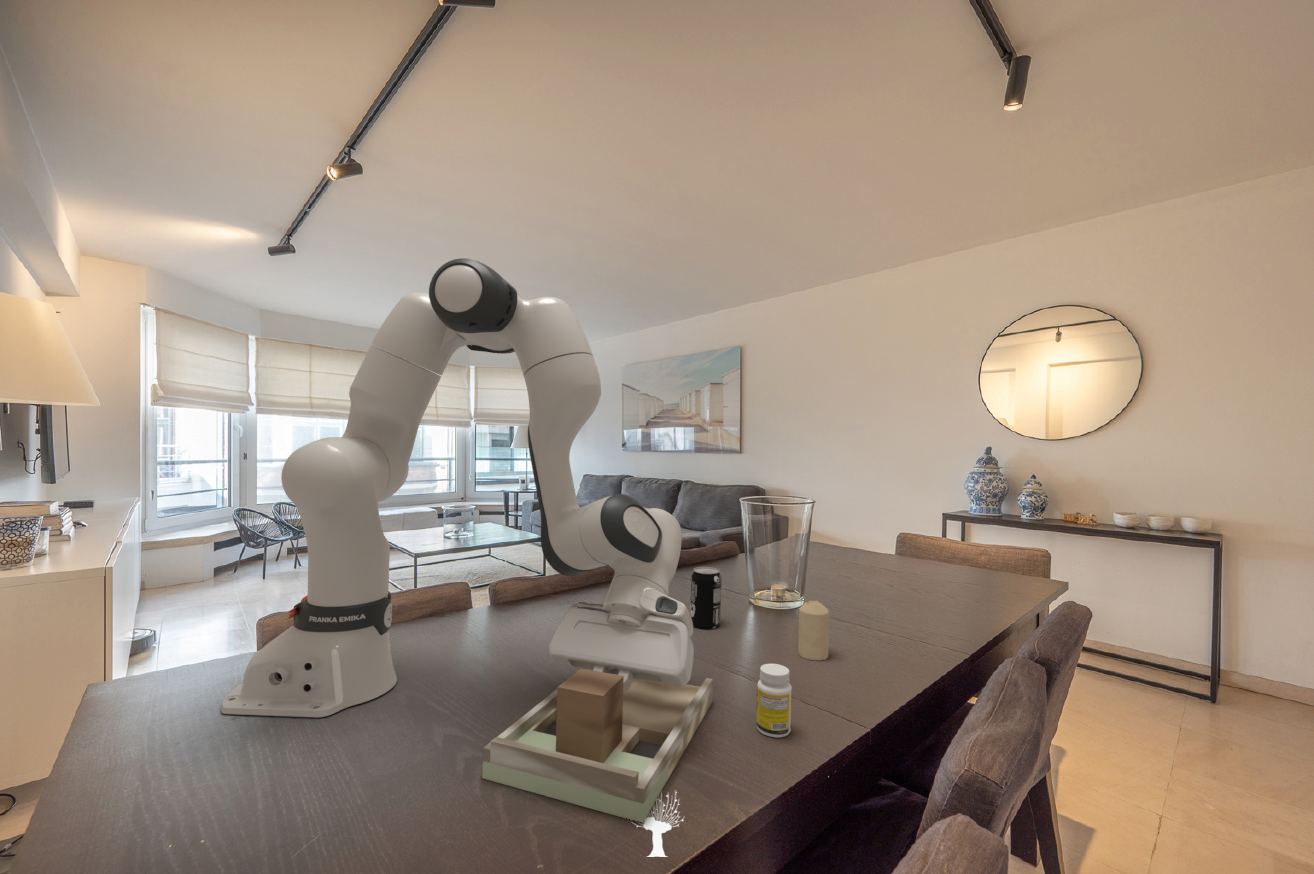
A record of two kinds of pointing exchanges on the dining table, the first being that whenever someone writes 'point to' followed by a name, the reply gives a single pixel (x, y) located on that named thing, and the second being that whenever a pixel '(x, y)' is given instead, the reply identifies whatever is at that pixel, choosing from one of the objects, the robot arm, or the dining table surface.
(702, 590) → the beverage can
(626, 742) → the box
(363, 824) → the dining table surface
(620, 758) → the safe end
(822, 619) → the candle
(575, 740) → the walnut block
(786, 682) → the supplement bottle
